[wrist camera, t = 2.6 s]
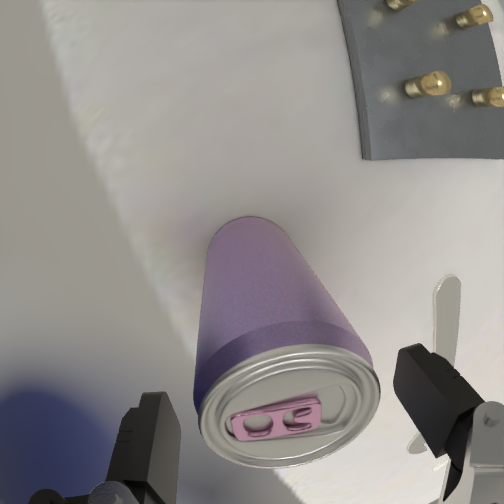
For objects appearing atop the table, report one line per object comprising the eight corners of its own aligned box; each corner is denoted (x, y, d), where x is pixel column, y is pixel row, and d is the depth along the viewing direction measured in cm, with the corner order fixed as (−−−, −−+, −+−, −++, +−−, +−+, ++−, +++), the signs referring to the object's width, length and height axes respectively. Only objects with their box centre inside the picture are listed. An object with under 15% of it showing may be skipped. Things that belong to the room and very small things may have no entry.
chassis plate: (324, -46, 15) (344, -78, 10) (467, -8, 16) (497, -21, 11) (362, 159, 21) (398, 163, 16) (498, 157, 21) (535, 164, 17)
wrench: (405, 457, 36) (407, 460, 35) (407, 291, 25) (412, 295, 24) (449, 433, 36) (451, 436, 35) (472, 259, 25) (477, 262, 24)
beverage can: (201, 220, 21) (167, 362, 7) (287, 209, 21) (400, 323, 7) (214, 298, 23) (213, 479, 9) (293, 287, 23) (372, 450, 9)
